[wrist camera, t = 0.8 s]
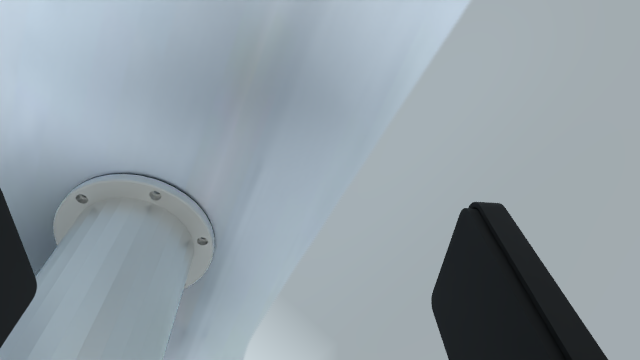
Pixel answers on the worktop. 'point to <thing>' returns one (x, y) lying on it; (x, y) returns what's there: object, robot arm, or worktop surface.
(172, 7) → the worktop surface
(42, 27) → the worktop surface
